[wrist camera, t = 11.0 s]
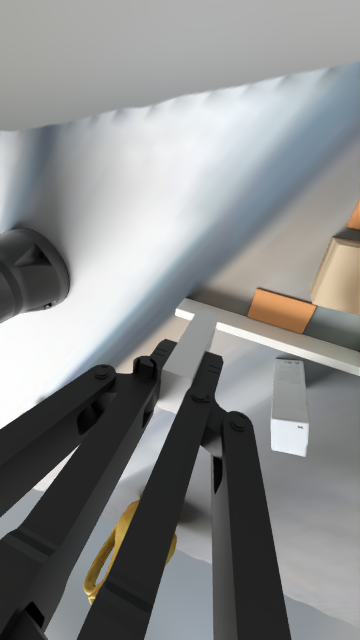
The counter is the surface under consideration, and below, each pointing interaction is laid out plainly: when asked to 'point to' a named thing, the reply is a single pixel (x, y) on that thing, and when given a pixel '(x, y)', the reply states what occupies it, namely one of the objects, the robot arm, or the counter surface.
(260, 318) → the trap pits
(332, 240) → the oak block
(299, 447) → the skincare box
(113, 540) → the pitcher
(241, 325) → the track
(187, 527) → the counter surface
